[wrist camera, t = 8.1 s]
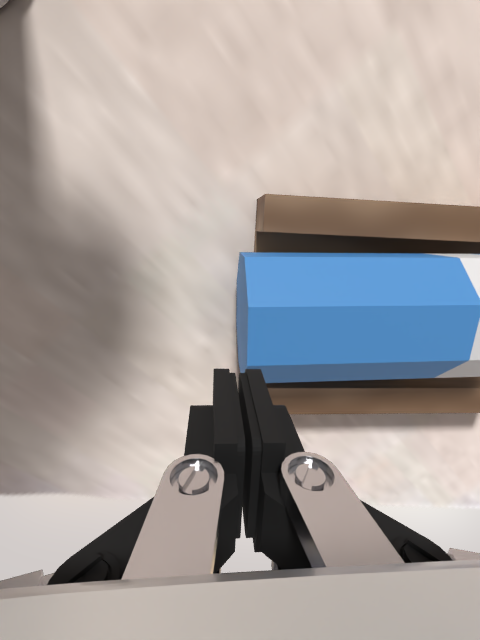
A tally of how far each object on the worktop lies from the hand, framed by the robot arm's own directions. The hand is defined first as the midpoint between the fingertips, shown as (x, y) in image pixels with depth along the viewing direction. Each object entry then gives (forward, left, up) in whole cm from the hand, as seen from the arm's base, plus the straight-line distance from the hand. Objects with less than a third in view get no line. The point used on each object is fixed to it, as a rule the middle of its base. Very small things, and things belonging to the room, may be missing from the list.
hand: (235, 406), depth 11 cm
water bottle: (0, +1, -11) cm, 11 cm away
